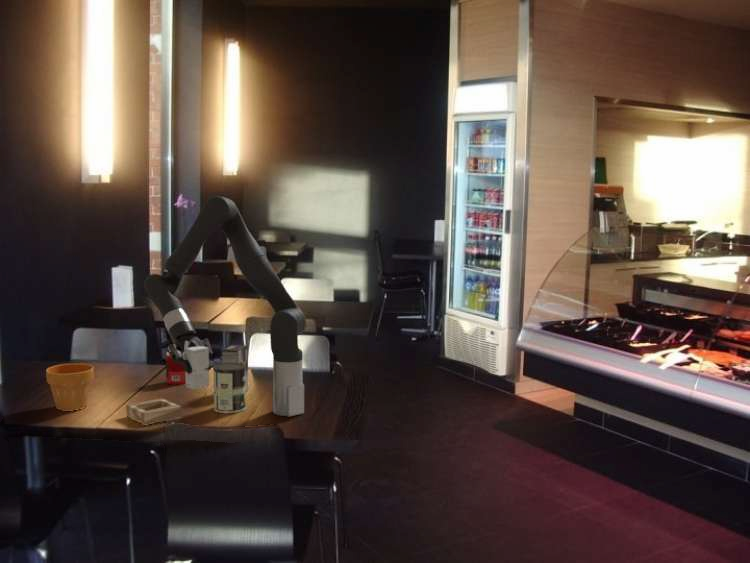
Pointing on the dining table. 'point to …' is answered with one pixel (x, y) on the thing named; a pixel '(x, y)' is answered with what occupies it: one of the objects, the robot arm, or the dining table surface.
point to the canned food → (174, 371)
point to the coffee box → (237, 357)
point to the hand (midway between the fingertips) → (200, 370)
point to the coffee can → (229, 387)
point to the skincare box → (198, 367)
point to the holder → (154, 411)
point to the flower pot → (70, 384)
